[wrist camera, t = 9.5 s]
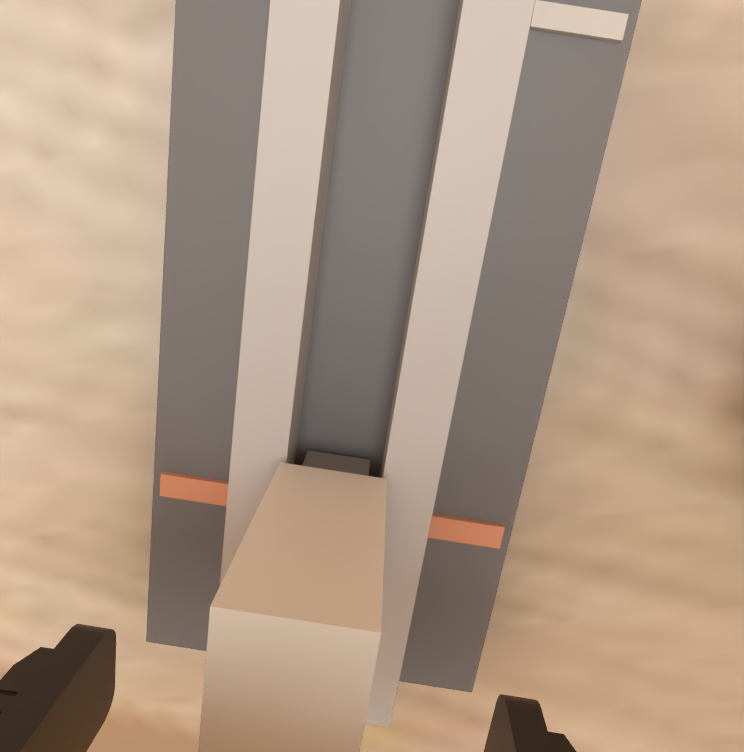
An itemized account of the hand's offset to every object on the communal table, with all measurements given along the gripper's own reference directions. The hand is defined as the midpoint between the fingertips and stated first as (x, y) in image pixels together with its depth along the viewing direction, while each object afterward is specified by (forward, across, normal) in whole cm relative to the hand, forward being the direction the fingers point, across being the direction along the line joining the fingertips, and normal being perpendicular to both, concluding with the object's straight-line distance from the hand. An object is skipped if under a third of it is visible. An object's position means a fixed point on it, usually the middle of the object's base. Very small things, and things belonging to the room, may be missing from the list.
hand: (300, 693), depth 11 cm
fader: (+7, 0, 0) cm, 7 cm away
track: (+9, 0, -7) cm, 12 cm away
